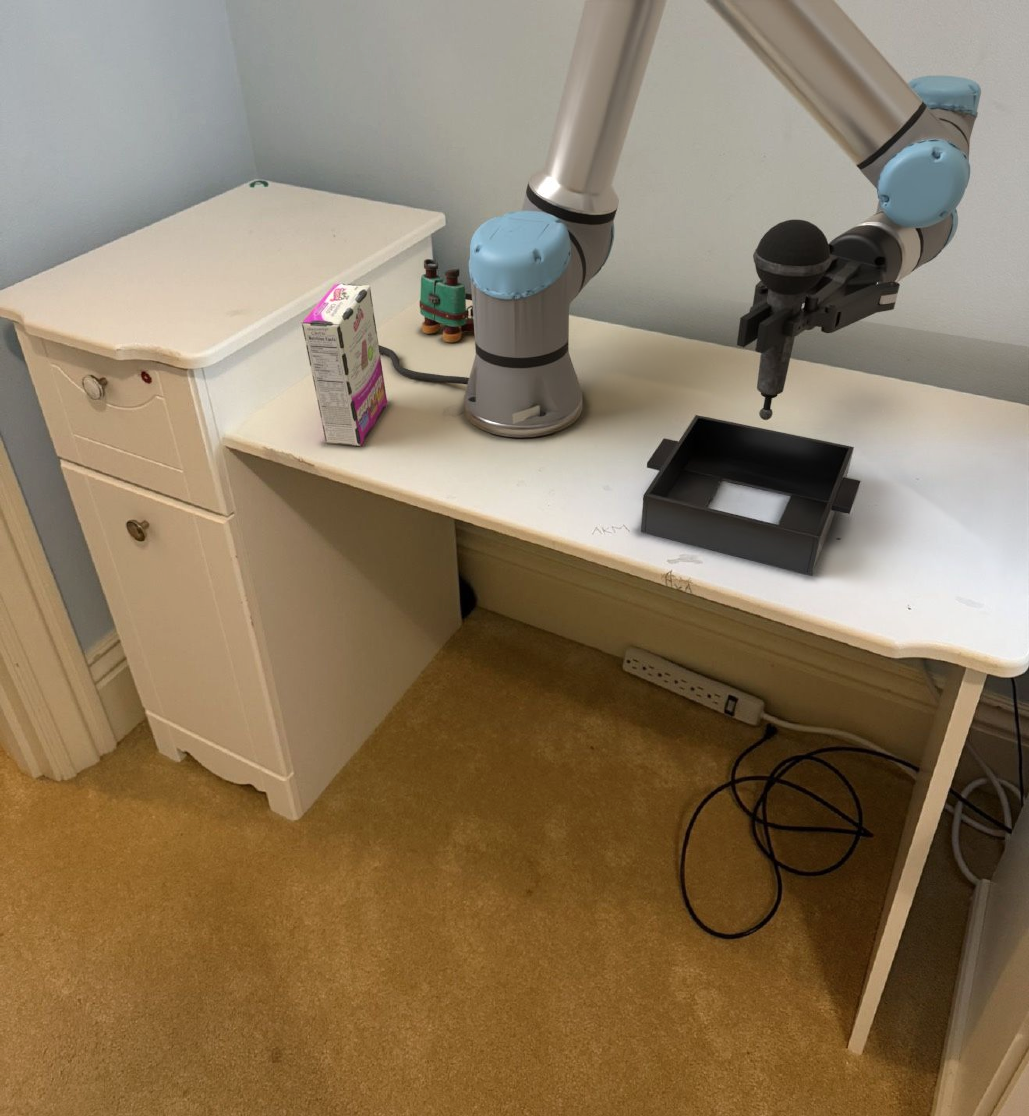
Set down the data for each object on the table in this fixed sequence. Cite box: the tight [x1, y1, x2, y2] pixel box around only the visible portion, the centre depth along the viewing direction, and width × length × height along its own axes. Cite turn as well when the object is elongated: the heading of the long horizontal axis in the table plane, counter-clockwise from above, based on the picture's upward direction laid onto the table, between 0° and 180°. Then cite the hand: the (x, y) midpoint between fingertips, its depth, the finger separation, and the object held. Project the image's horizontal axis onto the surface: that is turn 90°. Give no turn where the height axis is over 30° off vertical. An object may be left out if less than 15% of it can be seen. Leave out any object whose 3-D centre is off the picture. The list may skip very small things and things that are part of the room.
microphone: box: [752, 219, 831, 421], centre depth 87 cm, size 7×7×20 cm
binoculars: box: [419, 258, 474, 343], centre depth 136 cm, size 9×11×10 cm
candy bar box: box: [300, 283, 388, 447], centre depth 112 cm, size 11×5×16 cm, turn 168°
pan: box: [640, 414, 862, 576], centre depth 99 cm, size 22×18×5 cm
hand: (751, 335), depth 83 cm, fingers closed on microphone
